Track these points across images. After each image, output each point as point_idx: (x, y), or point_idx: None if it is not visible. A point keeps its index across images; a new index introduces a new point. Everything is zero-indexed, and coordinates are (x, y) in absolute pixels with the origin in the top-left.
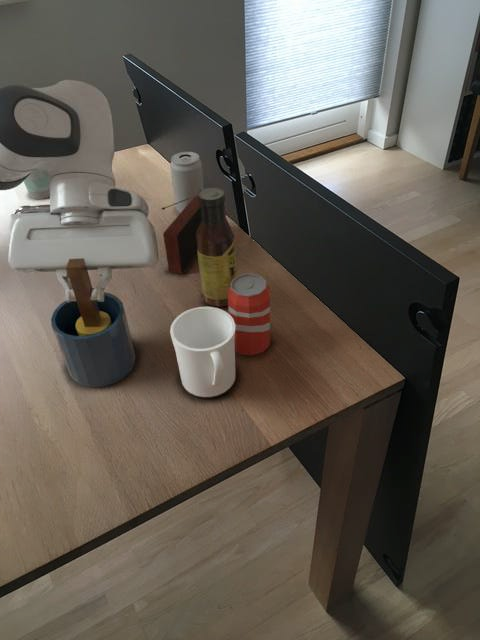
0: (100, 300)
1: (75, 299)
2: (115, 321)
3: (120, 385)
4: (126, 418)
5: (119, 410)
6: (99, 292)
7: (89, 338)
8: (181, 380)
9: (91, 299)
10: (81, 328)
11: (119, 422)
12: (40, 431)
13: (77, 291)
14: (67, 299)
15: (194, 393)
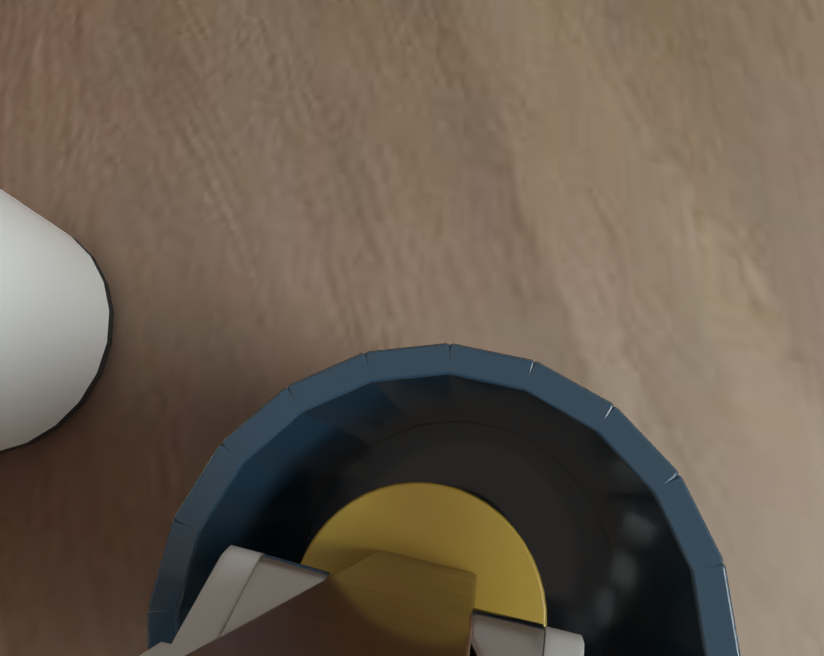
0: (239, 550)
1: (478, 618)
2: (228, 476)
3: None
4: (369, 205)
5: (394, 253)
6: (206, 603)
7: (426, 347)
8: (103, 321)
9: (316, 569)
10: (501, 564)
11: (398, 192)
12: (731, 218)
13: (422, 620)
14: (563, 642)
15: (70, 237)
